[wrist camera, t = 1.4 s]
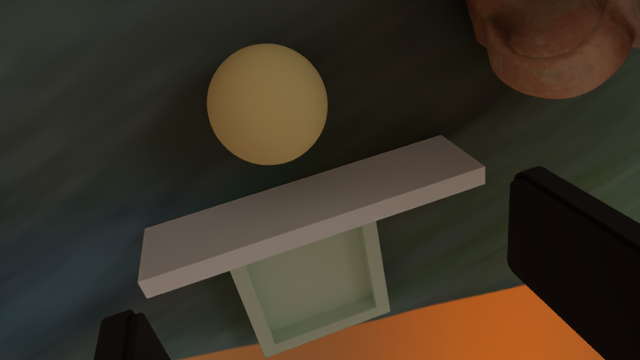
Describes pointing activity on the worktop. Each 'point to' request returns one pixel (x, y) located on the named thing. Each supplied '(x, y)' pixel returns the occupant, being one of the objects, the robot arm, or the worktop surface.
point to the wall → (302, 213)
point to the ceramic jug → (556, 42)
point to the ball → (267, 104)
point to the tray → (314, 289)
